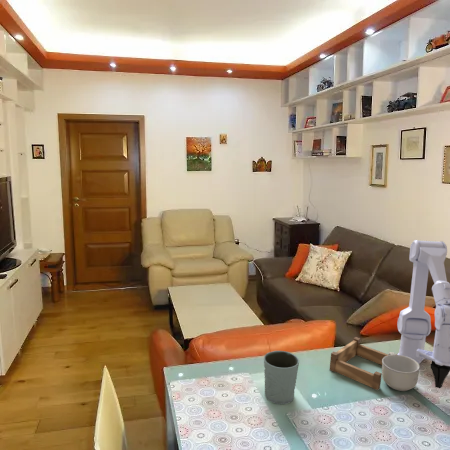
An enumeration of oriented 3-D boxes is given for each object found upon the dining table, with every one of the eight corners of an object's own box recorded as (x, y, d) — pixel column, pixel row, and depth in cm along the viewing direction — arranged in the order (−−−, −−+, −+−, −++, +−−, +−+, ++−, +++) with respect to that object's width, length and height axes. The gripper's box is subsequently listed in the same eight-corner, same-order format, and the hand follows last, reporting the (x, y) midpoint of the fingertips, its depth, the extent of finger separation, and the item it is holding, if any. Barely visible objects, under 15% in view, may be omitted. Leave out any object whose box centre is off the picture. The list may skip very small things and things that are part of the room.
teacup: (420, 397, 129) (423, 373, 127) (382, 392, 131) (385, 368, 129) (410, 374, 142) (413, 351, 141) (375, 369, 144) (378, 347, 143)
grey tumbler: (298, 390, 130) (301, 354, 127) (292, 409, 120) (295, 370, 118) (266, 383, 133) (268, 347, 131) (257, 401, 124) (260, 363, 121)
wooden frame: (354, 352, 155) (355, 336, 154) (399, 369, 145) (401, 353, 143) (329, 369, 143) (331, 353, 141) (377, 390, 132) (379, 372, 131)
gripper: (414, 340, 127) (409, 381, 130) (468, 357, 117) (461, 402, 120) (422, 333, 132) (417, 373, 135) (475, 349, 123) (468, 392, 125)
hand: (438, 386), depth 128 cm, fingers closed
